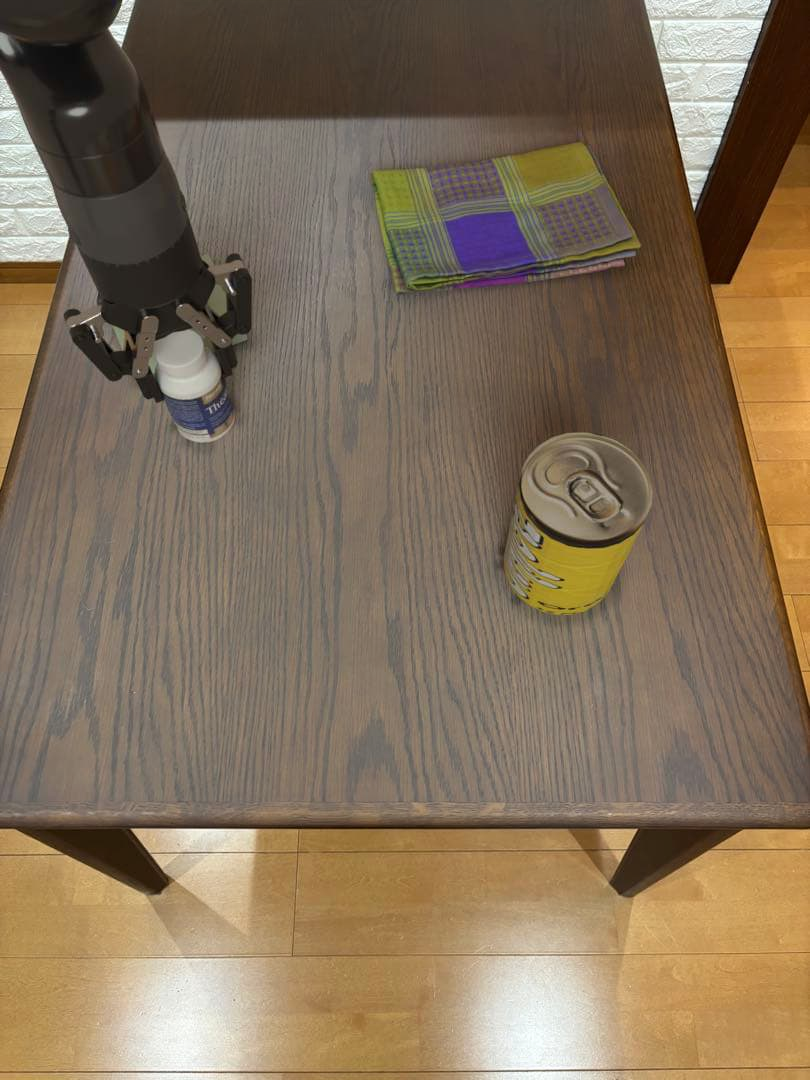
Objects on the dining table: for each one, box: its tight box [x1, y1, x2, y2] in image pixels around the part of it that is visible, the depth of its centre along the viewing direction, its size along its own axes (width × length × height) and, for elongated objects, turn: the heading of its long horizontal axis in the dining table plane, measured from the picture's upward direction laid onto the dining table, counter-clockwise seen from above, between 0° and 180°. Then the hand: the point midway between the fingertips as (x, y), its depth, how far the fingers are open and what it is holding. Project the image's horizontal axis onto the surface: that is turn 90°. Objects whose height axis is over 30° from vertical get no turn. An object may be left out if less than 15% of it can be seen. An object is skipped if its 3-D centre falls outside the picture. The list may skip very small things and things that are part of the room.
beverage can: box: [502, 431, 654, 616], centre depth 61 cm, size 9×9×12 cm
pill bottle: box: [154, 329, 236, 443], centre depth 69 cm, size 5×5×10 cm
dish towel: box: [370, 141, 642, 296], centre depth 83 cm, size 18×24×3 cm
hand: (191, 381), depth 69 cm, fingers closed on pill bottle, 5 cm apart
